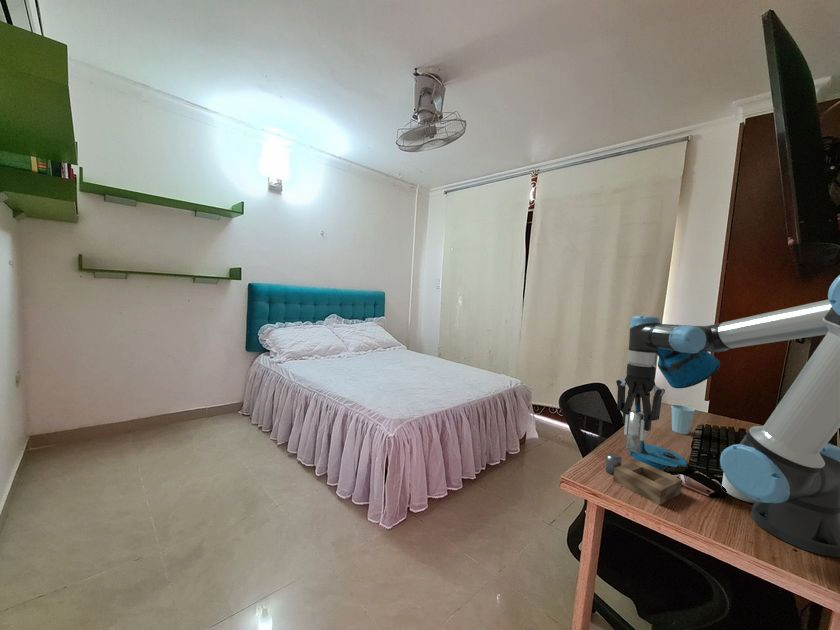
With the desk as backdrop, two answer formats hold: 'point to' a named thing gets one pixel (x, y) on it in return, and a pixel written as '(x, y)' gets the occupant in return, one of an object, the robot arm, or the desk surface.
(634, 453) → the desk lamp
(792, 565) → the desk surface
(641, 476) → the tan square frame
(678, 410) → the cup
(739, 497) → the beverage can
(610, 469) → the stub pin
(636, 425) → the tall pin
